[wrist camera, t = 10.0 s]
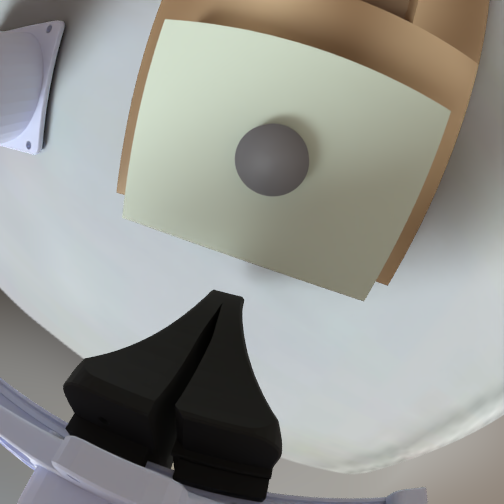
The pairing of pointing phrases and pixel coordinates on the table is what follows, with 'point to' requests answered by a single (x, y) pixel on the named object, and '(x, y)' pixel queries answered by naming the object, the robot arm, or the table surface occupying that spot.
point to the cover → (279, 154)
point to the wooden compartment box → (358, 59)
